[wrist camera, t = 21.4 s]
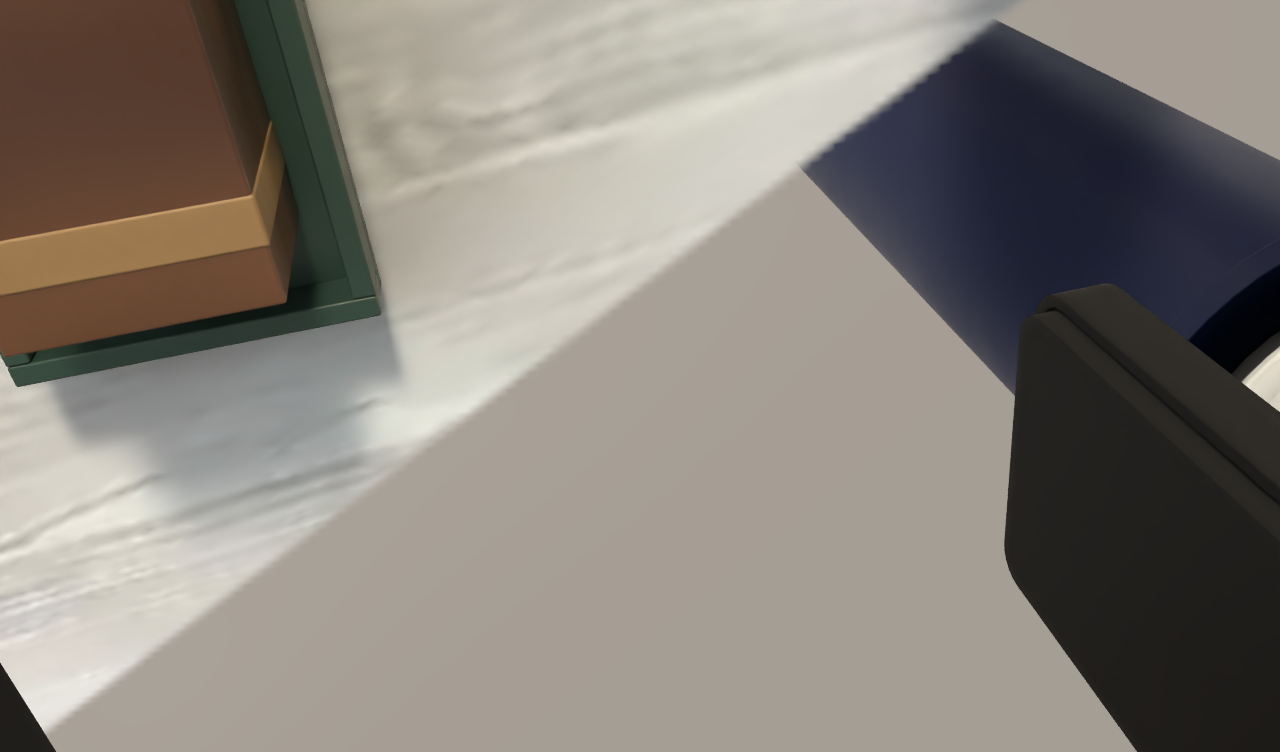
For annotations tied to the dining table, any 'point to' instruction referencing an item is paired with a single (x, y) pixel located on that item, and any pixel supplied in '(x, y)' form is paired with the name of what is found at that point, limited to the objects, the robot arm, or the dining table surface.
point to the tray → (326, 231)
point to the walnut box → (134, 171)
